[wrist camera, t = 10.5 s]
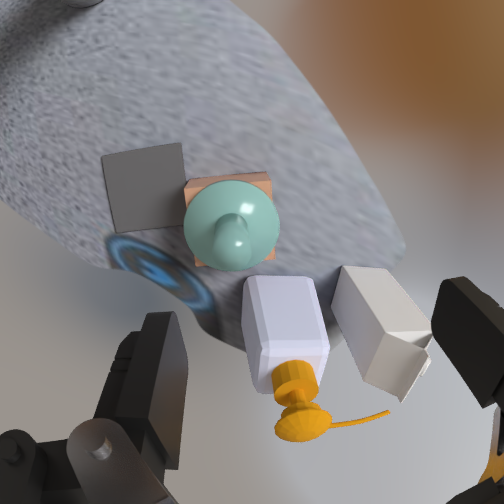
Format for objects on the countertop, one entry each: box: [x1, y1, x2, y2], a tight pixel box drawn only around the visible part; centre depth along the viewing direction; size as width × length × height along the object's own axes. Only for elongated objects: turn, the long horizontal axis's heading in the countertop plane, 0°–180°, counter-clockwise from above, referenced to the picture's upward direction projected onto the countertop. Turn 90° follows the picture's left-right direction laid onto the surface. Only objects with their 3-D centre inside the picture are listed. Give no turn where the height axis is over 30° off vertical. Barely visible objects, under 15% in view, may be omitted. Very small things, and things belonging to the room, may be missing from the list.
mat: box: [102, 143, 187, 233], centre depth 36 cm, size 10×10×1 cm
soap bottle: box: [241, 275, 390, 442], centre depth 34 cm, size 10×14×22 cm
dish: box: [184, 172, 275, 267], centre depth 36 cm, size 9×9×5 cm
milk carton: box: [331, 265, 433, 403], centre depth 36 cm, size 7×7×19 cm
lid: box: [184, 179, 280, 271], centre depth 31 cm, size 10×10×7 cm
